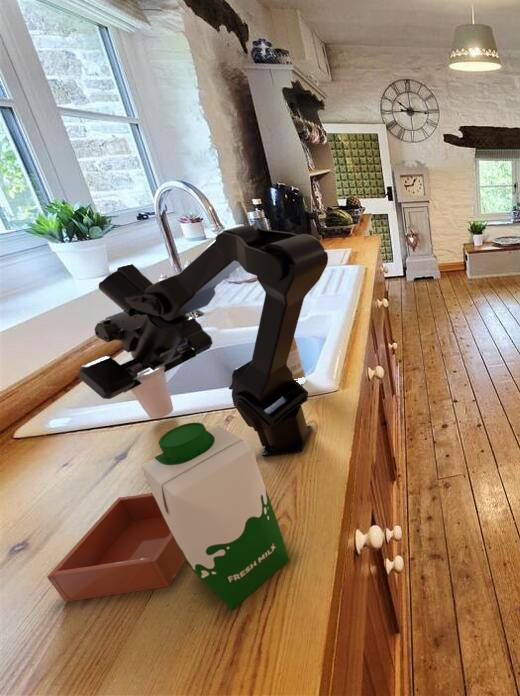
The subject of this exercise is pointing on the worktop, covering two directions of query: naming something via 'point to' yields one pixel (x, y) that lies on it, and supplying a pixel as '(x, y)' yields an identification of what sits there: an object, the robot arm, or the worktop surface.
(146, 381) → the smoothie
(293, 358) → the sprinkles bottle
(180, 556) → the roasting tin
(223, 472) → the milk carton
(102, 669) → the worktop surface
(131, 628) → the worktop surface
